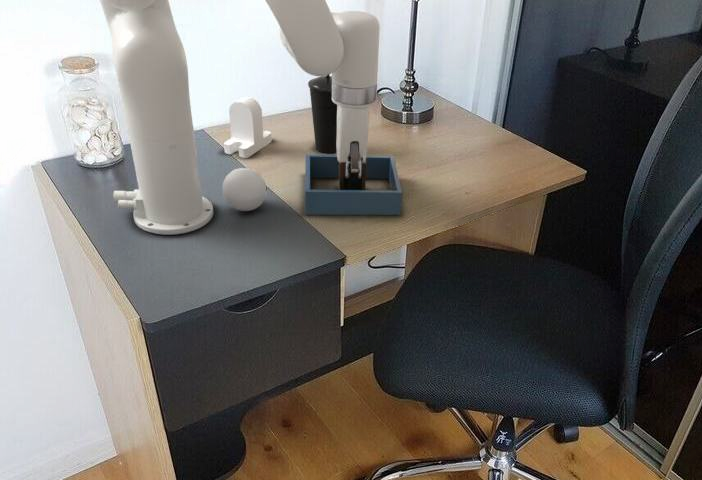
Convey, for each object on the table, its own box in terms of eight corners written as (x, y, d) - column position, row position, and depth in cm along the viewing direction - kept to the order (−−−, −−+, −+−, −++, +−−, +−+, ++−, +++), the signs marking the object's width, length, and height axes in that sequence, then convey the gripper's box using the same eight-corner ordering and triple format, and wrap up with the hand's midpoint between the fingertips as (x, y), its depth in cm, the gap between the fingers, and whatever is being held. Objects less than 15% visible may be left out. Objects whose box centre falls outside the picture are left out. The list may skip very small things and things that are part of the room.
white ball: (274, 214, 112) (272, 175, 108) (232, 222, 109) (228, 183, 105) (254, 188, 119) (252, 151, 115) (214, 195, 116) (210, 157, 111)
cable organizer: (223, 152, 130) (218, 104, 124) (250, 135, 138) (247, 89, 132) (246, 158, 129) (242, 109, 123) (272, 140, 136) (270, 94, 130)
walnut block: (339, 200, 118) (339, 163, 113) (338, 188, 121) (339, 151, 117) (364, 201, 118) (366, 163, 114) (363, 189, 122) (364, 152, 118)
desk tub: (305, 214, 113) (305, 191, 110) (306, 176, 125) (305, 154, 122) (400, 215, 115) (402, 192, 113) (392, 177, 127) (393, 156, 124)
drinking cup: (348, 142, 138) (351, 47, 127) (342, 158, 132) (344, 58, 120) (313, 138, 139) (312, 42, 127) (305, 153, 132) (303, 54, 121)
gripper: (330, 74, 115) (330, 168, 125) (333, 110, 101) (332, 212, 112) (373, 75, 116) (368, 168, 127) (381, 111, 102) (375, 212, 113)
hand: (351, 188), depth 119 cm, fingers closed on walnut block, 4 cm apart
